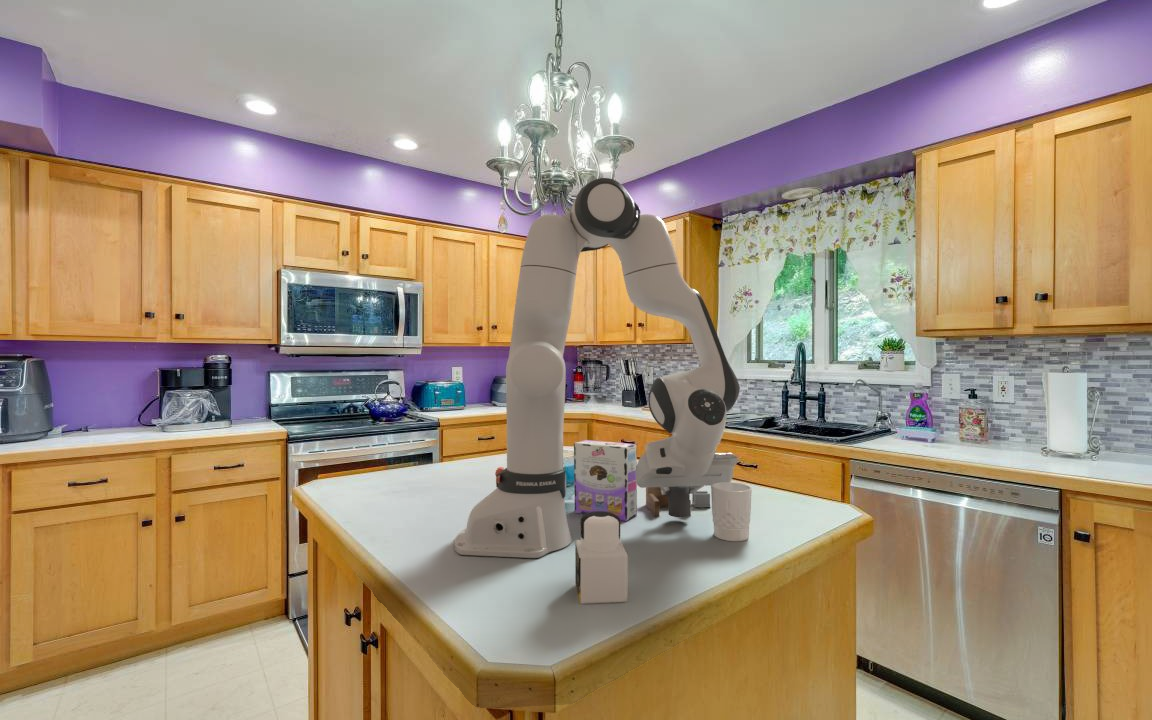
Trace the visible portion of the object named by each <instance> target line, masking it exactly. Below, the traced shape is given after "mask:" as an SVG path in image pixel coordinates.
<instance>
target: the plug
mask: <svg viewBox="0 0 1152 720" xmlns="http://www.w3.org/2000/svg"><path fill="white" fill-rule="evenodd" d="M669 489H670V492H669V494H668V507H667V509H668V510H667V511H668V516H670V517H674V518H688V517H691V516H690V500H691V499H690V498H691V497H690V489H689V486H678V487H669Z"/></svg>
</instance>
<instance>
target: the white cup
mask: <svg viewBox="0 0 1152 720" xmlns="http://www.w3.org/2000/svg"><path fill="white" fill-rule="evenodd" d="M752 493H753V491H752V486H750V485H748V484H745V483H740V482H733V481H731V482H719V483H714V484H712V485H710V498H711V515H712V523H713V535H714V537H716V538H717V539H720V540H723V541H727V542H744V541H747V540H749V537H750V523H751V514H752V513H751V511H752Z"/></svg>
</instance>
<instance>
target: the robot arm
mask: <svg viewBox="0 0 1152 720" xmlns="http://www.w3.org/2000/svg"><path fill="white" fill-rule="evenodd" d="M575 197H576V198H575V199H574V201H573V203H572V204H571V207H570V209H569V210H568V212H566V213H565V214H561V215H558V214H550V213H549V214H544V215H540V216H538V217H537V218H536V219H534V220H533V222H532V223H531V224H530V227H529V229H528V233H527V236H526V239H525V243H524V246H523V251H522V255H521V261H520V266H519V267H520V268H519V275H518V282H517V290H516V297H515V304H514V310H513V311H514V313H513V322H512V328H511V337H510V344H509V346H510V347H509V352H508V359H507V362H506V366H505V387H506V388H505V389H506V391H505V394H506V397H505V398H506V400H505V401H506V402H505V403H506V468H504V467H503V466H499V467H498V468H496V469H495V472H494V473H495V487H496V488H495V489H494V490H493V491H492V492H490V493H489V494H488V495H486V496H485V497H484V498H483V499H481V500H480V501H479V502H477V503H476V504H475V505H474V507H473V508H472V509H471V511H470V513H469V516H468V517H467V518H468V519H467V524H466V528H464V529H462V530H461V531H460V532H459V533H458V534H457V535H456V537H455V539H454V545H453V546H454V551H455V552H456V553H457V554H459V555H462V556H479V557H480V556H484V557H501V558H502V557H504V558H505V557H506V558H527V559H536V558H537V559H538V558H542V557H543V556H546V555H547V554H549V553H551V552H554V551H558V550H561V549H564V548H566V547H567V546H568V545H570V544H571V543H572V541H573V538H572V535H571V530H570V528H569V524H568V519H567V518H568V517H567V511H566V510H567V509H566V504H565V502H566V501H565V498H566V493H567V474H566V468H565V467H564V424H565V423H564V420H565V405H566V404H565V403H566V377H567V376H566V374H567V373H566V372H567V371H566V370H567V369H566V368H567V367H566V362H565V359H564V353H565V347H566V341H567V336H568V330H569V324H570V320H571V315H572V309H573V301H574V293H575V288H576V287H575V286H576V279H577V272H578V271H577V270H578V262H579V258H580V254H581V253H582V252H589V251H598V250H601V249H604V248H606V247H608V246H609V247H611V249H613V251H615V253H616V255H617V257H618V259H619V261H620V265H621V270H622V275H623V281H624V284H625V290H626V293H627V296H628V298H629V301H630V302H631V303H632V304H633V305H634V306H635V307H636V308H637V309H638V310H639V311H640V310H641V312H643V313H646V314H649V315H652V316H656V317H661V318H667V319H670V320H673V321H677V322H679V323H680V324H682V325H683V326H684V327H685V328H686V330H687V331H688V333H689V336H690V339H691V342H692V344H693V346H694V348H695V351H696V352H695V353H696V354H697V357H698V359H699V362H700V365H699V367H698V368H693V369H688V370H685V371H681V372H675V373H671V374H667V375H662V376H659V377H656V378H655V380H654V381H653V382H652V384H651V386H650V388H649V389H650V390H649V393H648V401H647V402H648V408H649V411H650V414H651V416H652V417H653V419H654V421H655V422H656V423H657V424H658V425H659V426H660V427H661V428H662V429H663V430H665V431H666V432H667V433H669V434H672V435H671V436H668V437H666V438H663V439H662V438H661V439H660V440H654V441H650V442H648V443H646V444H645V452H644V453H643V454H642V455H641V456H640V457H639V459H638V461H637V467H636V470H635V476H636V482H637V487H639V488H645V489H646V487H660V489H661V492H662V495H667V494H669V492H670V489H669V487H678V486H689V489H690V494H691V495H692V494H696V492H697V491H700V489H702V488H703V487H705V486H706V487H707V486H710V487H711V485H712V484H714V483H719V482H732V480H733V476H734V467H736V465H737V464H738V462H739V456H737V455H736V454H734V453H732V452H716V451H717V448H718V446H719V444H720V443H721V440H722V438H723V436H724V432H725V429H726V424H727V412H729V411H730V410H732V409H733V407H734V406H735V404H736V402H737V400H738V398H739V396H740V384H739V380H738V378H737V376H736V374H735V372H734V370H733V369H732V367H731V365H730V363H729V361H728V359H727V357H726V355H725V352H724V349H723V346H722V343H721V341H720V338H719V336H718V334H717V331H716V328H715V326H714V323H713V320H712V318H711V315H710V312H709V310H708V308H707V305H706V303H705V301H704V299H703V297H702V295H701V294H700V293H699V291H697V290H696V289H694V288H691V287H690V285H688V283H687V282H686V280H685V279H684V277H683V275H682V272H681V271H680V268H679V263H678V260H677V256H676V255H677V254H676V251H675V248H674V244H673V241H672V238H671V236H670V233H669V231H668V229H667V226H666V224H665V222H664V221H663V220H662V219H661V218H660V217H659V216H657V215H654V214H649V213H648V214H647V213H646V214H641V212H642V211H641V208H640V207H639V205H638V204H637V203H636V202H635V201H634V199H633V198H632V197H631V195H630V194H629V192H628V190H627V189H626V188H625V187H624V186H623V185H622V183H620V182H619V181H618V180H615V179H613V178H608V177H599V178H596V179H593V180H590V181H589V182H588V183H586V184H585V185H584V186H583V187H581V188H580V189H579V191H578V193H577V194H576V196H575Z"/></svg>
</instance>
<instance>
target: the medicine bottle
mask: <svg viewBox="0 0 1152 720" xmlns="http://www.w3.org/2000/svg"><path fill="white" fill-rule="evenodd" d="M574 545H575V548H574V549H575V553H574V554H575V561H574V562H575V565H574V566H575V576H574V577H575V581H574V582H575V587H576V593H577V598H578V602H579V604H580V605H585V604H586V605H587V604H609V603H610V604H613V603H616V604H617V603H627V601H628V554H627V552H626V549H625V548H624V546H623V543H622V541H621V520H620V518H619V517H618V516H617V515H615V514H613V513H610V512H605V511H595V512H590V513H587V514H582V517H581V518H580V539H576V540H575V543H574Z"/></svg>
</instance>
